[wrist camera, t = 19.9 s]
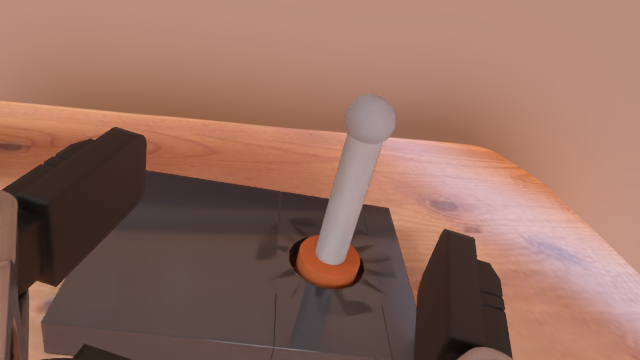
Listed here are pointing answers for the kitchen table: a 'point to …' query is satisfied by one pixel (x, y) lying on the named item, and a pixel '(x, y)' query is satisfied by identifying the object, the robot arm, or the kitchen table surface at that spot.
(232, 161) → the kitchen table surface
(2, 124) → the kitchen table surface
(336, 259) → the stopper
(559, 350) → the kitchen table surface
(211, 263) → the dark grey slab
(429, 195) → the kitchen table surface
